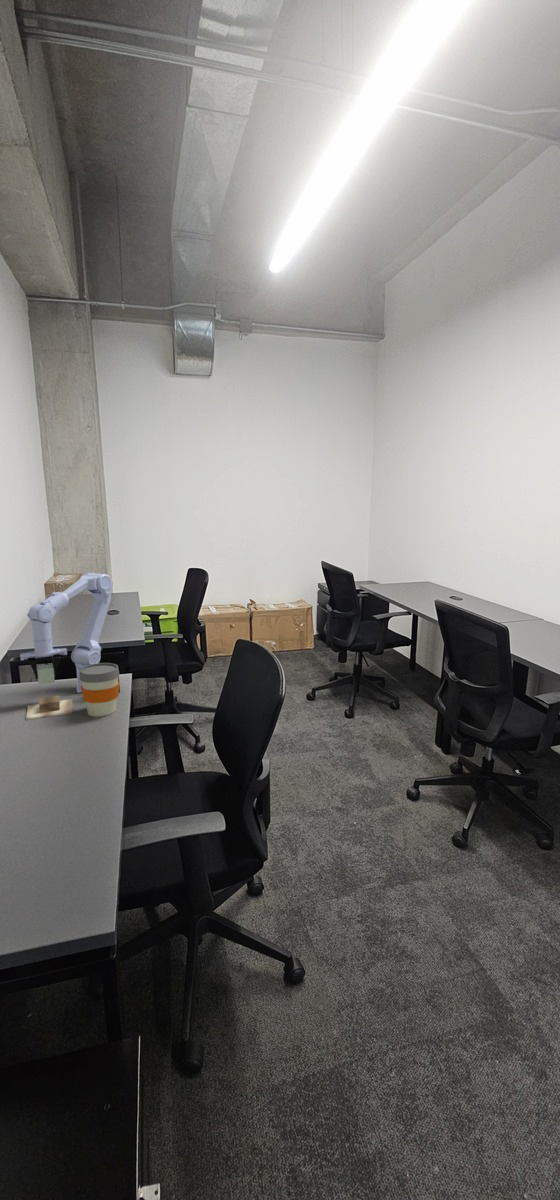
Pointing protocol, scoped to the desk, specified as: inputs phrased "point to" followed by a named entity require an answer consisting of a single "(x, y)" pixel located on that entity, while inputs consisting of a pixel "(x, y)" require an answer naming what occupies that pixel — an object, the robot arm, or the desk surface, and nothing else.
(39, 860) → the desk surface
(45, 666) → the sage cube
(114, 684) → the reusable coffee cup
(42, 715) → the baseplate
